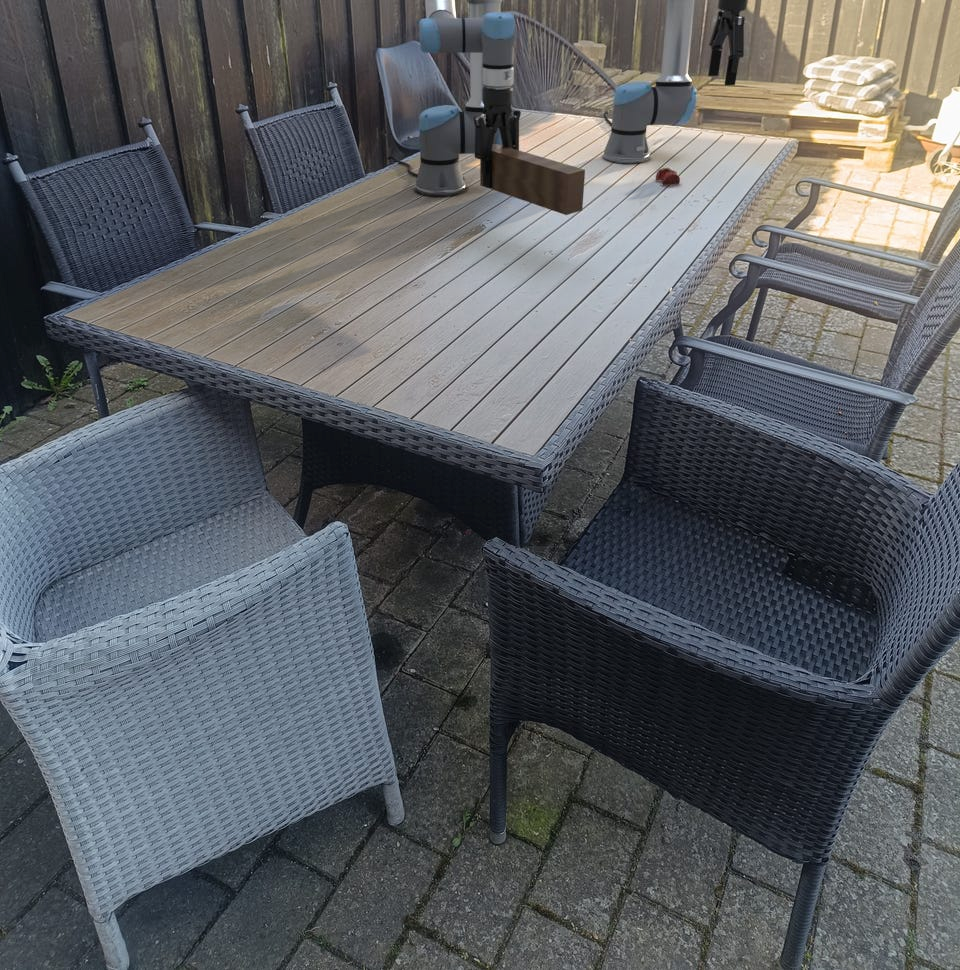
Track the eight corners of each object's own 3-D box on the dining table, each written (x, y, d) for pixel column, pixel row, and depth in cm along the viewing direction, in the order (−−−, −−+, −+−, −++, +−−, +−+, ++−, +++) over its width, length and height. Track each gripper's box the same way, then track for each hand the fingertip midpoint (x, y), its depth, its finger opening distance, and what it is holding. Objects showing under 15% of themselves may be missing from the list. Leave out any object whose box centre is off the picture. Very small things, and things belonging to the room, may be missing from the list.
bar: (480, 185, 218) (480, 147, 212) (496, 181, 221) (496, 143, 215) (566, 215, 198) (568, 173, 193) (582, 210, 201) (585, 169, 196)
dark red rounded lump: (671, 164, 266) (682, 171, 259) (670, 177, 268) (681, 185, 262) (654, 166, 265) (665, 173, 258) (653, 179, 267) (664, 187, 261)
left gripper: (478, 93, 196) (478, 194, 210) (536, 83, 206) (532, 180, 219) (458, 88, 201) (459, 187, 214) (515, 79, 211) (513, 174, 224)
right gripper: (766, -3, 213) (750, 88, 226) (731, -13, 234) (719, 71, 246) (737, -2, 213) (723, 89, 225) (705, -12, 233) (694, 72, 245)
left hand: (496, 184), depth 217 cm, fingers closed on bar, 5 cm apart
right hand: (721, 80), depth 236 cm, fingers open, 13 cm apart
